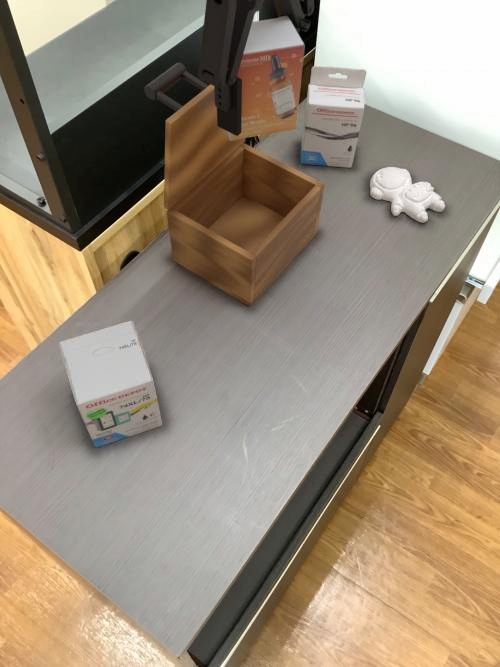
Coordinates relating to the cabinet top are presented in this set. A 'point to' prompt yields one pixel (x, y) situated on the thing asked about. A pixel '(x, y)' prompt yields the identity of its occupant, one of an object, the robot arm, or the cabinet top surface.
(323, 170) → the cabinet top surface
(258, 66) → the small box
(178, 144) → the lid
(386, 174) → the astronaut figurine
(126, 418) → the ink box
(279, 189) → the chest
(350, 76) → the ink box
